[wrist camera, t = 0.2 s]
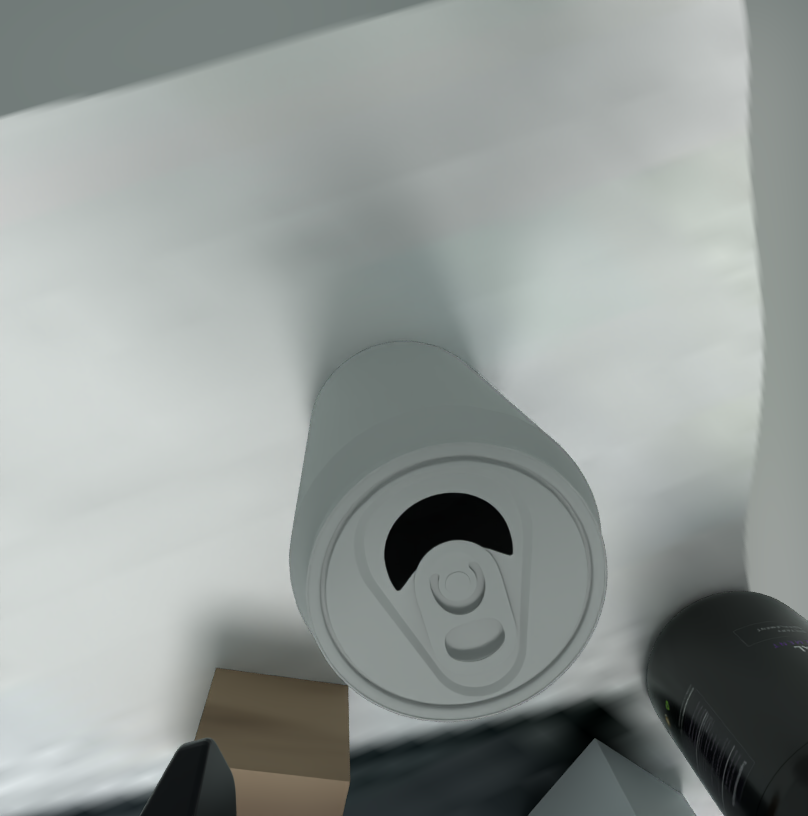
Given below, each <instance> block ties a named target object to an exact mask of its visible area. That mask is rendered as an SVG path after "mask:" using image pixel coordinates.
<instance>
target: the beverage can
mask: <svg viewBox="0 0 808 816" xmlns="http://www.w3.org/2000/svg"><path fill="white" fill-rule="evenodd" d="M289 565H290V578H291V585H292V589H293V593H294V597H295V600H296V604H297V607H298V609H299V611H300V613H301V616H302V618H303V620H304V622H305V623H306V625H307V627H308V629H309V631H310V632H311V634H312V635H313V637H314V638H315V640H316V642H317V645H318V647H319V648H320V650H321V652H322V654H323V656H324V657H325V659H326V660H327V662H328V663H329V665H330V666H331V668H332V669H333V670H334V671H335V673H336V674H337V675H338V676H339V677H340V678H341V679H342V680H343V681H344V682H345V683H346V684H347V685H348V686H349V687H350V688H352V689H353V690H354V691H355V692H356V693H358V694H359V695H361V696H362V697H364V698H365V699H366V700H368V701H370V702H372V703H373V704H375V705H377V706H379V707H381V708H383V709H386V710H388V711H391V712H393V713H396V714H399V715H402V716H406V717H410V718H414V719H419V720H426V721H435V722H459V721H469V720H476V719H480V718H485V717H489V716H493V715H496V714H499V713H502V712H505V711H507V710H509V709H512V708H514V707H517V706H519V705H521V704H523V703H525V702H527V701H528V700H530V699H532V698H533V697H535V696H537V695H538V694H540V693H541V692H543V691H544V690H545V689H547V688H548V687H549V686H550V685H552V684H553V683H554V682H555V681H556V680H557V679H558V678H560V677H561V676H562V675H563V674H564V673H565V672H566V671H567V670H568V669H569V668H570V666H571V665H572V664H573V663H574V662H575V660H576V659H577V658H578V657H579V655H580V654H581V652H582V651H583V649H584V648H585V646H586V645H587V643H588V641H589V640H590V638H591V636H592V634H593V632H594V630H595V628H596V625H597V623H598V620H599V617H600V615H601V611H602V608H603V604H604V600H605V594H606V587H607V559H606V551H605V545H604V541H603V537H602V534H601V524H600V518H599V513H598V509H597V505H596V502H595V499H594V496H593V494H592V491H591V489H590V487H589V485H588V483H587V481H586V479H585V477H584V476H583V474H582V472H581V471H580V469H579V467H578V466H577V465H576V463H575V462H574V461H573V459H572V458H571V457H570V456H569V455H568V454H567V452H566V451H565V450H564V449H563V448H562V447H561V446H560V445H559V444H558V443H557V442H555V441H554V440H553V439H552V438H551V437H550V436H549V435H547V434H546V433H545V432H544V431H543V430H542V429H541V428H539V427H538V426H537V425H536V424H535V423H534V422H533V421H531V420H530V419H529V418H528V417H527V416H526V415H525V414H523V413H522V412H521V411H520V410H519V409H518V408H517V407H515V406H514V405H513V404H512V403H511V402H510V401H509V400H507V399H506V398H505V397H504V396H503V395H502V394H500V393H499V392H498V391H497V390H496V389H495V388H494V387H492V386H491V385H490V384H489V383H488V382H487V381H486V380H484V379H483V378H482V377H481V376H480V375H479V374H478V373H476V372H475V371H474V370H473V369H472V368H471V367H470V366H468V365H467V364H466V363H465V362H464V361H462V360H461V359H460V358H458V357H457V356H456V355H454V354H452V353H450V352H448V351H446V350H444V349H442V348H440V347H437V346H433V345H429V344H425V343H420V342H415V341H396V342H388V343H384V344H379V345H376V346H373V347H371V348H368V349H366V350H363V351H361V352H359V353H358V354H356V355H354V356H353V357H351V358H350V359H348V360H347V361H345V362H344V363H343V364H342V365H341V366H340V367H339V368H338V369H337V370H336V371H335V372H334V373H333V374H332V375H331V376H330V378H329V379H328V380H327V382H326V383H325V384H324V386H323V388H322V389H321V391H320V393H319V395H318V397H317V400H316V402H315V405H314V408H313V412H312V416H311V421H310V427H309V433H308V439H307V445H306V451H305V457H304V463H303V469H302V475H301V481H300V487H299V493H298V499H297V505H296V511H295V517H294V523H293V529H292V535H291V543H290V552H289Z"/></svg>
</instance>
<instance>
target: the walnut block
mask: <svg viewBox="0 0 808 816" xmlns="http://www.w3.org/2000/svg"><path fill="white" fill-rule="evenodd" d="M203 738H212V739H213V740H214V741H215V742H216V744H217V745H218V747H219V749H220V751H221V753H222V755H223V757H224V759H225V760H226V762H227V764H228V766H229V768H230V770H231V772H232V774H233V778H234V782H235V790H236V812H237V816H342V815H343V811H344V806H345V802H346V797H347V793H348V789H349V784H350V754H349V703H348V686H347V685H340V684H332V683H325V682H317V681H310V680H302V679H295V678H287V677H280V676H272V675H265V674H257V673H250V672H242V671H235V670H227V669H220V668H216V670H215V674H214V677H213V680H212V684H211V687H210V690H209V694H208V697H207V700H206V704H205V707H204V710H203V714H202V717H201V720H200V724H199V727H198V730H197V734H196V737H195V740H194V741H196V740H199V739H203Z"/></svg>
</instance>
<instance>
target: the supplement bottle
mask: <svg viewBox="0 0 808 816" xmlns="http://www.w3.org/2000/svg"><path fill="white" fill-rule="evenodd" d="M647 687H648V692H649V696H650V700H651V703H652V705H653V707H654V710H655V711H656V713H657V715H658V717H659V718H660V720H661V722H662V723H663V725H664V726H665V728H666V729H667V731H668V733H669V734H670V736H671V737H672V739H673V740H674V742H675V743H676V745H677V746H678V748H679V749H680V751H681V752H682V754H683V755H684V757H685V758H686V760H687V761H688V763H689V764H690V766H691V767H692V769H693V770H694V772H695V773H696V775H697V776H698V778H699V779H700V781H701V782H702V784H703V785H704V787H705V788H706V790H707V791H708V793H709V794H710V796H711V797H712V799H713V800H714V802H715V803H716V805H717V806H718V808H719V809H720V811H721V812H722V814H723V815H724V816H808V621H807V620H806V619H804V618H803V617H802V616H800V615H799V614H798V613H796V612H795V611H794V610H792V609H791V608H790V607H789V606H787V605H785V604H784V603H782V602H780V601H779V600H777V599H774V598H772V597H770V596H767V595H763V594H760V593H755V592H748V591H731V592H723V593H718V594H714V595H711V596H708V597H705V598H703V599H701V600H698V601H696V602H694V603H693V604H691V605H689V606H688V607H686V608H685V609H683V610H682V611H681V612H679V613H678V614H677V615H676V616H675V617H674V618H673V619H672V620H671V621H670V622H669V623H668V624H667V625H666V626H665V628H664V629H663V631H662V632H661V633H660V635H659V637H658V638H657V640H656V642H655V644H654V646H653V649H652V652H651V654H650V658H649V662H648V669H647Z"/></svg>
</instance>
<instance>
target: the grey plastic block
mask: <svg viewBox="0 0 808 816" xmlns="http://www.w3.org/2000/svg"><path fill="white" fill-rule="evenodd" d="M528 816H696V815H695V813H694V812H693V810H692V808H691V807H690V805H689V804H688V802H687V801H686V799H685V797H684V796H683V794H681V793H679V792H678V791H676V790H675V789H673V788H672V787H670V786H669V785H667V784H666V783H664V782H662V781H661V780H659V779H658V778H656V777H655V776H653V775H652V774H650V773H648V772H647V771H645V770H644V769H642V768H641V767H639V766H638V765H636V764H634V763H633V762H631V761H630V760H628V759H627V758H625V757H624V756H622V755H621V754H619V753H617V752H616V751H614V750H613V749H611V748H610V747H608V746H607V745H605V744H603V743H602V742H600V741H599V740H597V739H596V738H594V740H593V741H592V742H591V743H590V744H589V745H588V746H587V748H586V749H585V750H584V751H583V752H582V753H581V755H580V756H579V757H578V758H577V759H576V760H575V761H574V763H573V764H572V765H571V766H570V767H569V768H568V770H567V771H566V772H565V773H564V774H563V775H562V776H561V778H560V779H559V780H558V781H557V782H556V783H555V785H554V786H553V787H552V788H551V789H550V790H549V791H548V793H547V794H546V795H545V796H544V797H543V798H542V800H541V801H540V802H539V803H538V804H537V805H536V807H535V808H534V809H533V810H532V811H531V812H530V813H529V815H528Z"/></svg>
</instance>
